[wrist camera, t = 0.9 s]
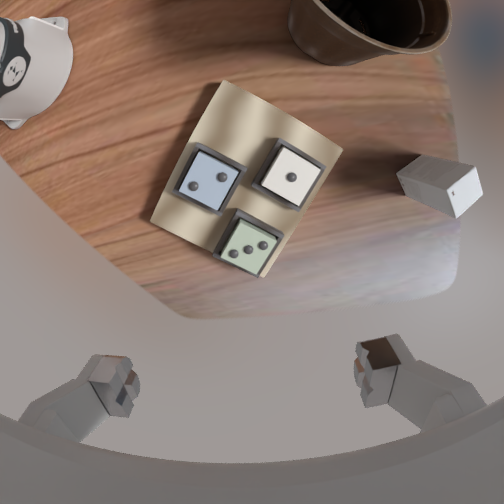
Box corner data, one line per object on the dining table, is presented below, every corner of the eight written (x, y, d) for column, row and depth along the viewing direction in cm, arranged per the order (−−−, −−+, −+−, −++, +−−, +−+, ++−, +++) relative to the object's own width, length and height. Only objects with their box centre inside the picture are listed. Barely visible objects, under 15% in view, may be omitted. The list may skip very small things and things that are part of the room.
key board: (153, 217, 38) (146, 224, 35) (224, 82, 32) (223, 77, 29) (262, 271, 42) (265, 282, 39) (338, 148, 36) (347, 150, 33)
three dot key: (221, 251, 37) (220, 258, 35) (239, 218, 36) (240, 222, 34) (255, 268, 38) (256, 275, 37) (275, 236, 37) (277, 242, 35)
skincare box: (405, 197, 39) (455, 220, 28) (394, 172, 37) (445, 189, 26) (432, 177, 38) (484, 195, 27) (422, 153, 36) (475, 164, 25)
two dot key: (181, 188, 34) (178, 191, 32) (200, 151, 32) (198, 152, 30) (218, 206, 35) (217, 211, 33) (238, 170, 33) (238, 172, 32)
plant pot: (250, -4, 27) (260, -72, 12) (351, -24, 25) (399, -74, 10) (302, 94, 33) (349, 68, 18) (399, 66, 31) (474, 47, 16)
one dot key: (260, 182, 34) (262, 185, 32) (281, 146, 33) (284, 147, 31) (295, 202, 35) (299, 206, 33) (316, 168, 34) (321, 170, 32)
